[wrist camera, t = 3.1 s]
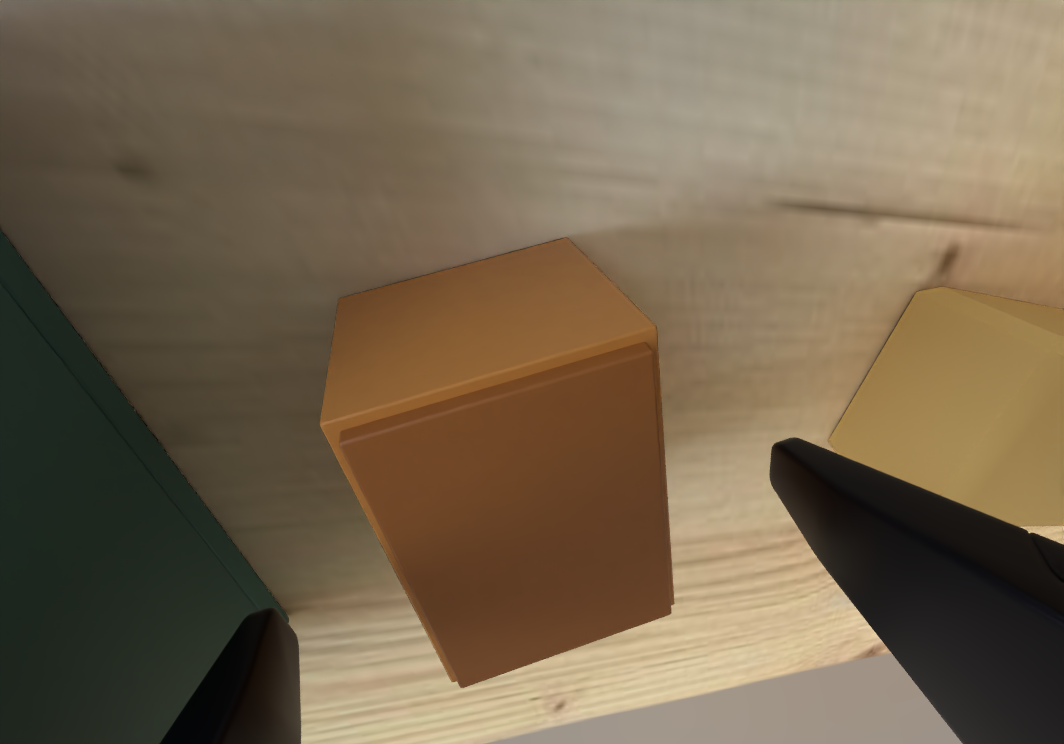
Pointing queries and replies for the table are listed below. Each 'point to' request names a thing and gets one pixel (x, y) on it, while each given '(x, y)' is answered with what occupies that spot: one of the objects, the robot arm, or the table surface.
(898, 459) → the rubber stamp
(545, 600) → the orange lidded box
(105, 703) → the open green storage bin
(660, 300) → the table surface
